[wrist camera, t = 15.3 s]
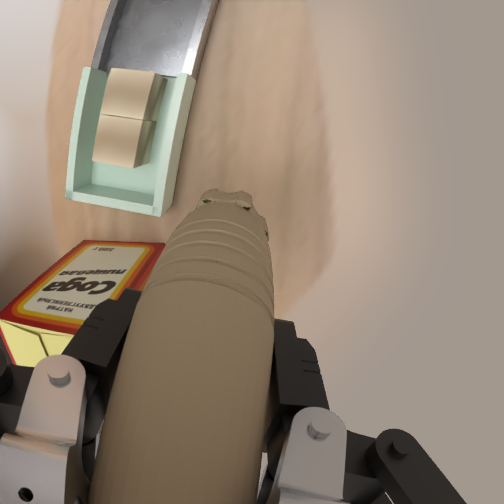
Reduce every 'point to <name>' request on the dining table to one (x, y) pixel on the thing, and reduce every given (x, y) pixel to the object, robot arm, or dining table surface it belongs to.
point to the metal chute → (155, 36)
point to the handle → (194, 367)
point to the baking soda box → (72, 296)
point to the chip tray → (122, 178)
